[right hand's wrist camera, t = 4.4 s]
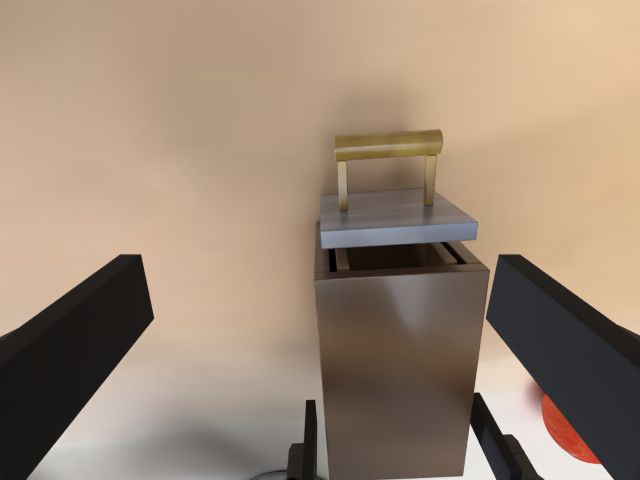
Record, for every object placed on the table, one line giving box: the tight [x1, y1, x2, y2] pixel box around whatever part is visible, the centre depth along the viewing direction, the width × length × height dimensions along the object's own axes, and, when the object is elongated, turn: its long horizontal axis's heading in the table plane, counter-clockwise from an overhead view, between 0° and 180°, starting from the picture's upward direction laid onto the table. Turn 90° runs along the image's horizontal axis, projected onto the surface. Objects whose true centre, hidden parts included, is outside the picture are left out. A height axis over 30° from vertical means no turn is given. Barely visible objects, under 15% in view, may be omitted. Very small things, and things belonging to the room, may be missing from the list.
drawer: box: [320, 129, 478, 272], centre depth 27 cm, size 22×10×10 cm, turn 4°
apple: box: [542, 394, 601, 464], centre depth 35 cm, size 8×8×8 cm
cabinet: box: [314, 222, 490, 480], centre depth 30 cm, size 19×11×12 cm, turn 4°
